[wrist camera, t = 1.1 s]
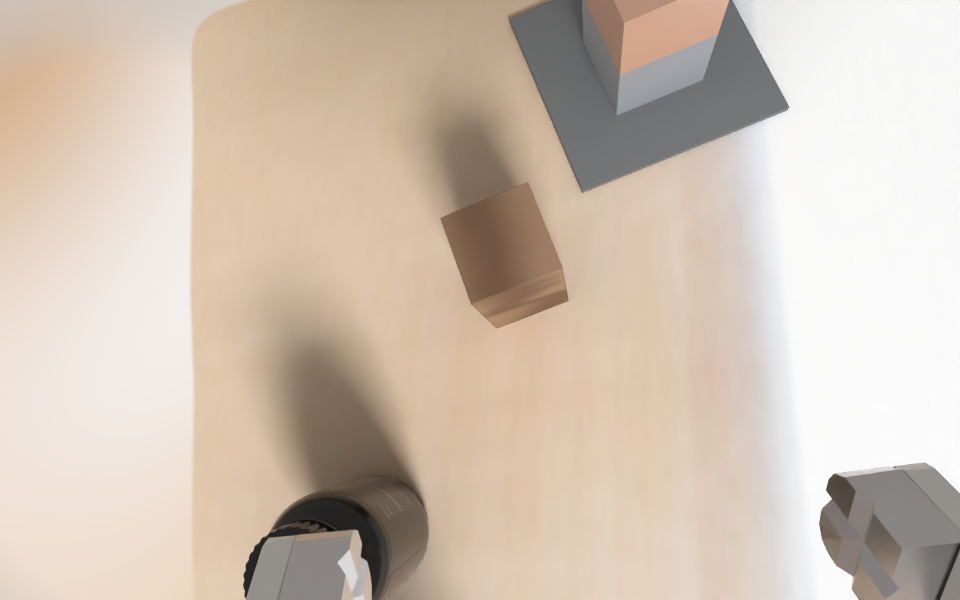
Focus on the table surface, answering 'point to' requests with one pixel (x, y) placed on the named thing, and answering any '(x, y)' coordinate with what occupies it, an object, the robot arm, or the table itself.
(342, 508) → the supplement bottle
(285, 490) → the table surface
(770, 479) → the table surface
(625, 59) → the tower top
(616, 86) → the tower bottom
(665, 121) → the rubber mat
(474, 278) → the walnut post
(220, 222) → the table surface
